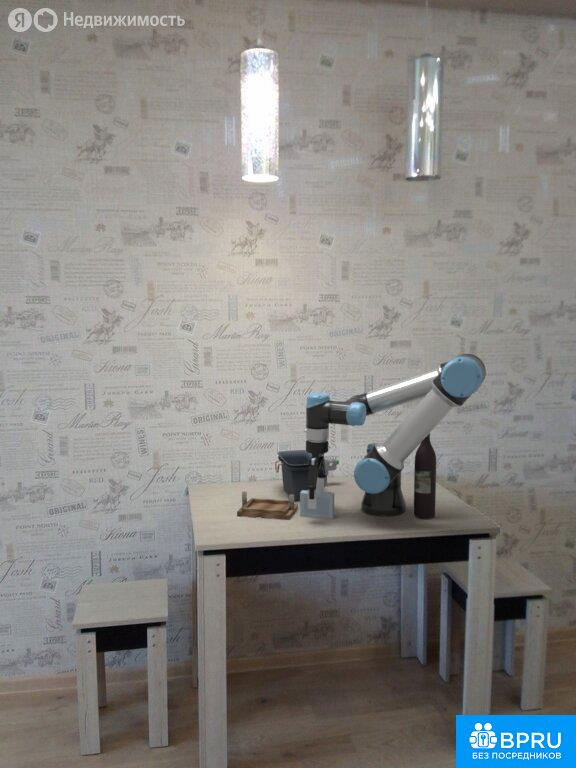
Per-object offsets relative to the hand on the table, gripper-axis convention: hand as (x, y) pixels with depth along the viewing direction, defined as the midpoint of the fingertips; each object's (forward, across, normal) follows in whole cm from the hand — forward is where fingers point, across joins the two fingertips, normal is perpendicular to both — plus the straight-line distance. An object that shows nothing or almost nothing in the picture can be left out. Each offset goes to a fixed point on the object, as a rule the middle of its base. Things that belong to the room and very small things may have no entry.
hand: (316, 502), depth 251 cm
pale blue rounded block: (+5, 0, 0) cm, 5 cm away
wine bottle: (+4, -7, +36) cm, 36 cm away
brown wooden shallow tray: (+5, 0, -16) cm, 17 cm away
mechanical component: (+5, -37, -4) cm, 37 cm away
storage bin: (+5, -23, -12) cm, 26 cm away
